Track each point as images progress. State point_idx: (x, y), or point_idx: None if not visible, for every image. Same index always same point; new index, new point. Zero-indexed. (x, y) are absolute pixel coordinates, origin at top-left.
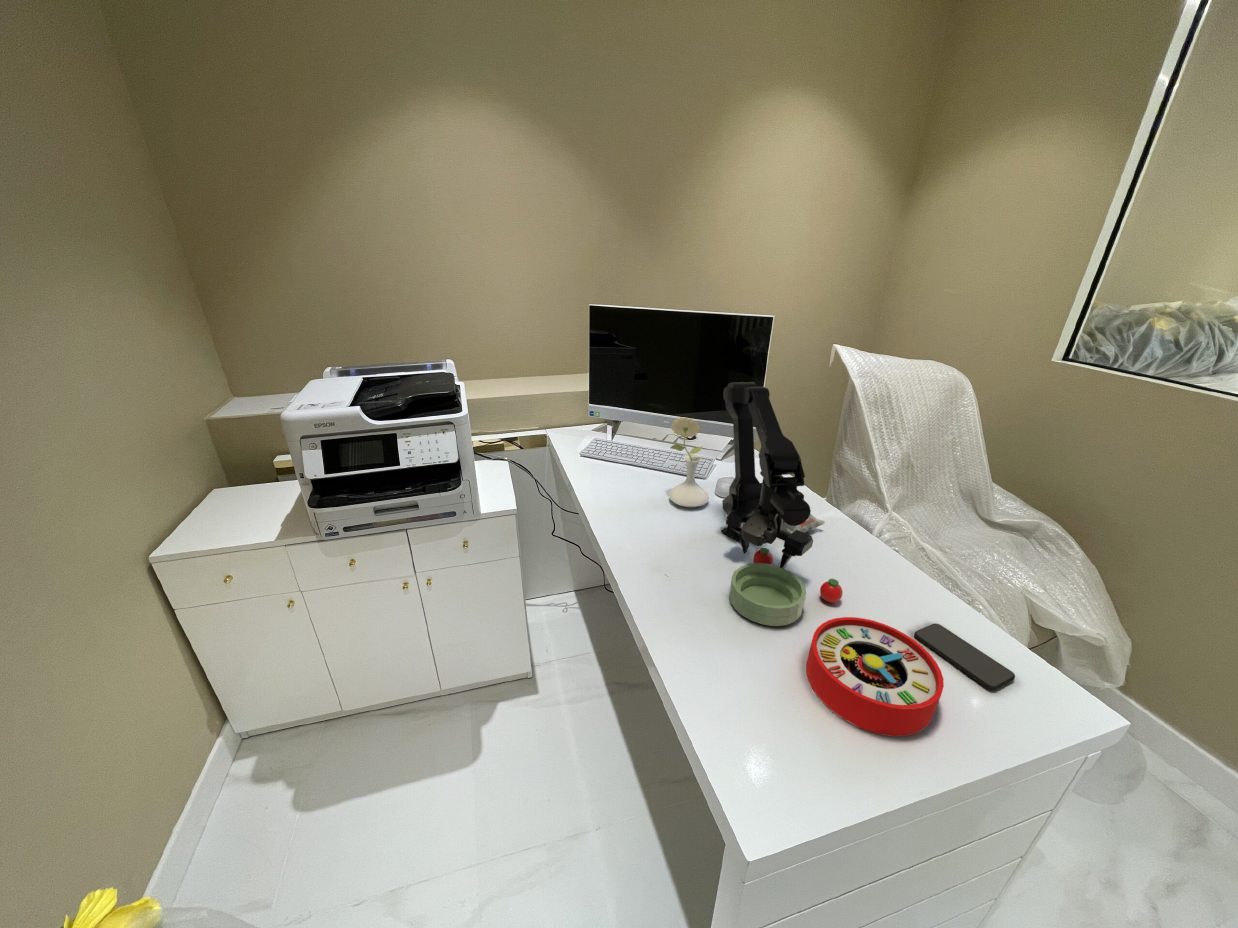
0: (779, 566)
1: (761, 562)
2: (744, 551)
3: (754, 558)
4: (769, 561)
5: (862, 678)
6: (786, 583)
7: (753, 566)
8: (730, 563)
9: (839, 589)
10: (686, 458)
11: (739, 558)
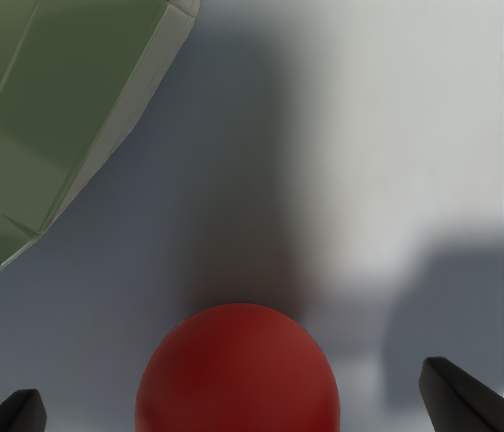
0: (5, 428)
1: (200, 353)
2: (447, 375)
3: (303, 356)
4: (138, 420)
5: None
6: None
7: (31, 28)
8: (473, 188)
9: None
10: None
11: (433, 301)
